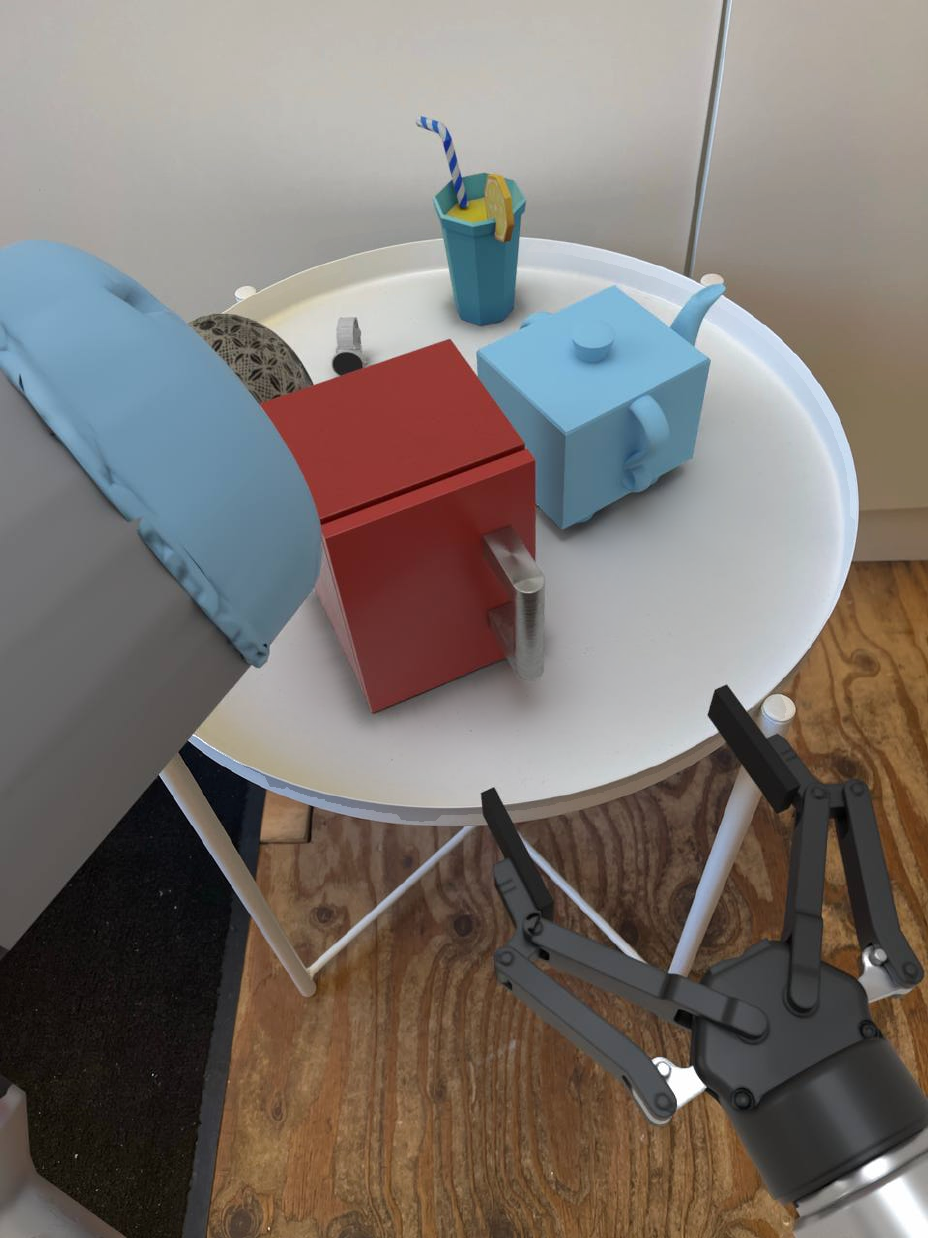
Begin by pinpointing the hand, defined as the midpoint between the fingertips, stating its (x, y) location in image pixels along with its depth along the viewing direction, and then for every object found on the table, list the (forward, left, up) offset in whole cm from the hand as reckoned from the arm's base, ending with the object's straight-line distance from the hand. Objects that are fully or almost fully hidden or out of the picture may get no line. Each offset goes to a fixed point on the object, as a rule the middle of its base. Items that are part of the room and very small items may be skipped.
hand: (605, 748), depth 51 cm
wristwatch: (-25, +38, -10) cm, 47 cm away
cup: (-16, +49, -10) cm, 52 cm away
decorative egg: (-29, +24, -10) cm, 39 cm away
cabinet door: (-9, +7, -9) cm, 15 cm away
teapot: (-2, +31, -10) cm, 33 cm away
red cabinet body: (-14, +14, -9) cm, 22 cm away
